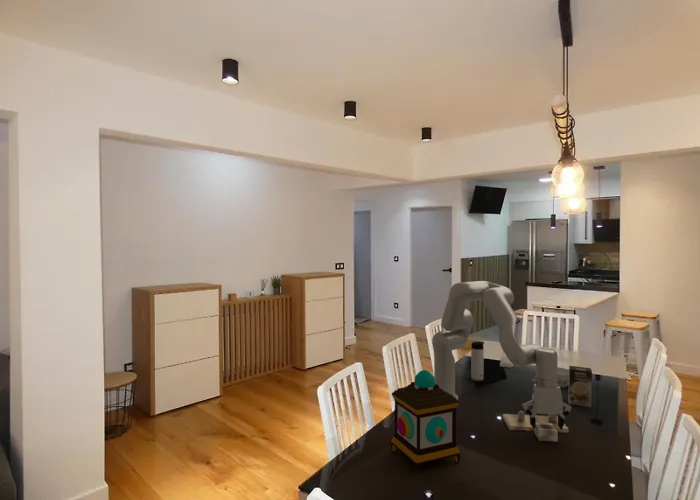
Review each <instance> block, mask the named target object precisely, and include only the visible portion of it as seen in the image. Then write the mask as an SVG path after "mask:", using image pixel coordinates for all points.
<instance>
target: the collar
mask: <svg viewBox="0 0 700 500" xmlns="http://www.w3.org/2000/svg"><path fill="white" fill-rule="evenodd" d="M533 432H534V434H535V436H536V438H537V439H538V441H539V442H541V441H542V442H558V437H559V434H558V433H559V432H558V431H557V429H556V428H555V427H554V426H553V424H550V423H536V428H534V431H533Z"/></svg>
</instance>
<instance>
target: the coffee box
mask: <svg viewBox="0 0 700 500" xmlns="http://www.w3.org/2000/svg"><path fill="white" fill-rule="evenodd" d="M568 369H569V385H568V393H567V401H568V402H567V404H568V405H573V406H574V405H575V406H578V407H579V406H580V407H584V408H585V407H586V408H592V387H593V386H592V379H593V377H592V376H593V371H592V368H591V367H583V366H576V365H569V368H568Z"/></svg>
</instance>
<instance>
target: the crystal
mask: <svg viewBox="0 0 700 500" xmlns="http://www.w3.org/2000/svg"><path fill="white" fill-rule="evenodd" d="M499 367H502V368H509V369H510V368H514V365H513V364H512V363H511V362H510V361H509V359H508V358H507V356H506V354H505V353H504V351H503V352H502V355H501V358H500V363H499Z"/></svg>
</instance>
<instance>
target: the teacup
mask: <svg viewBox="0 0 700 500" xmlns="http://www.w3.org/2000/svg"><path fill="white" fill-rule="evenodd" d="M558 386H559V387H560V389H561V388H562V389H565V388H567V387H568V386H569V368H564V367H560V366H559V367H558Z"/></svg>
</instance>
